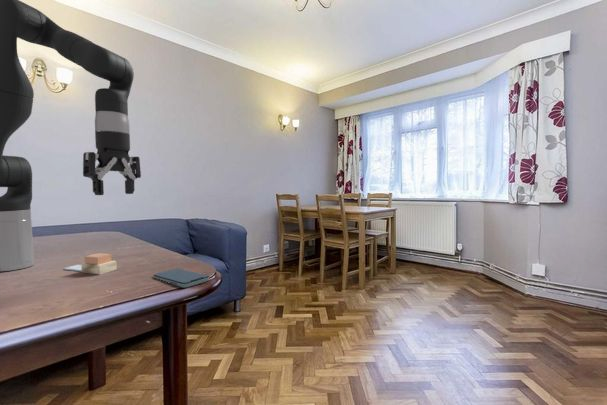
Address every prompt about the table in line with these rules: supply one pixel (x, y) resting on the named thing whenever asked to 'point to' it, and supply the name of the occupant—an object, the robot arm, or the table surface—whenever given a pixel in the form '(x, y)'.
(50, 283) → the table surface
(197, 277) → the smartphone
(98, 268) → the deck
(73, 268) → the mat
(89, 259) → the tile
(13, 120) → the robot arm
